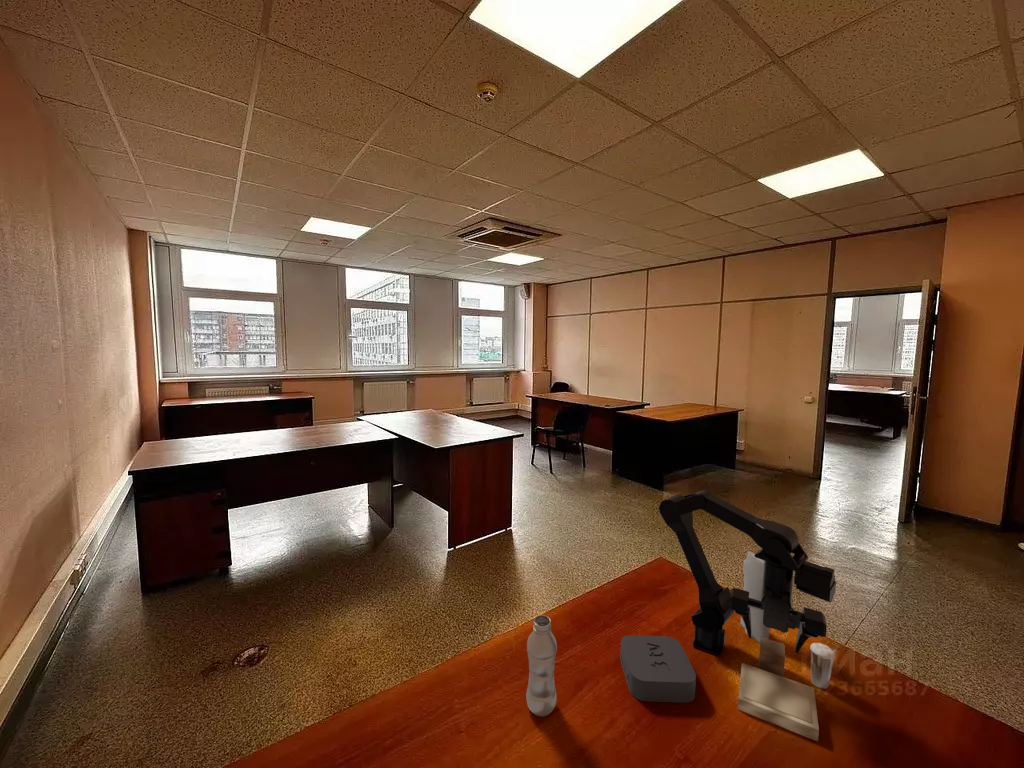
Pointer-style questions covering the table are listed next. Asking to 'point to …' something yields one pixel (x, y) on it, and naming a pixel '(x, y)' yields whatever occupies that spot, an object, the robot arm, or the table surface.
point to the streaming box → (657, 669)
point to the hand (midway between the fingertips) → (772, 644)
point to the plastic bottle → (541, 667)
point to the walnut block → (772, 656)
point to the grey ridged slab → (754, 594)
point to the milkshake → (821, 664)
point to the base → (778, 701)
